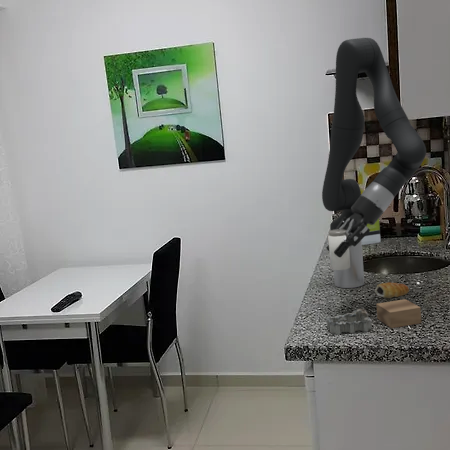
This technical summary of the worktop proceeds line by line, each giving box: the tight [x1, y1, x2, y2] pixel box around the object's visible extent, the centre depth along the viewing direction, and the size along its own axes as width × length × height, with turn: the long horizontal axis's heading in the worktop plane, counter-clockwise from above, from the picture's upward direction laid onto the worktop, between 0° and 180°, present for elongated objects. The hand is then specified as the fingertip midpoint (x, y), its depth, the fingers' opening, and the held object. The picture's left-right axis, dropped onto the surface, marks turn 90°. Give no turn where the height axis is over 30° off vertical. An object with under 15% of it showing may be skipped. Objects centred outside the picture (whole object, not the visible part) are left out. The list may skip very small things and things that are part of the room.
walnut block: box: [376, 298, 422, 329], centre depth 148 cm, size 8×8×4 cm
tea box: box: [361, 218, 382, 246], centre depth 248 cm, size 15×10×15 cm, turn 10°
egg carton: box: [325, 308, 373, 335], centre depth 147 cm, size 11×8×4 cm
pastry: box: [374, 281, 410, 299], centre depth 171 cm, size 9×7×4 cm
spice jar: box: [327, 229, 350, 271], centre depth 156 cm, size 5×5×10 cm
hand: (332, 253), depth 156 cm, fingers closed on spice jar, 5 cm apart
